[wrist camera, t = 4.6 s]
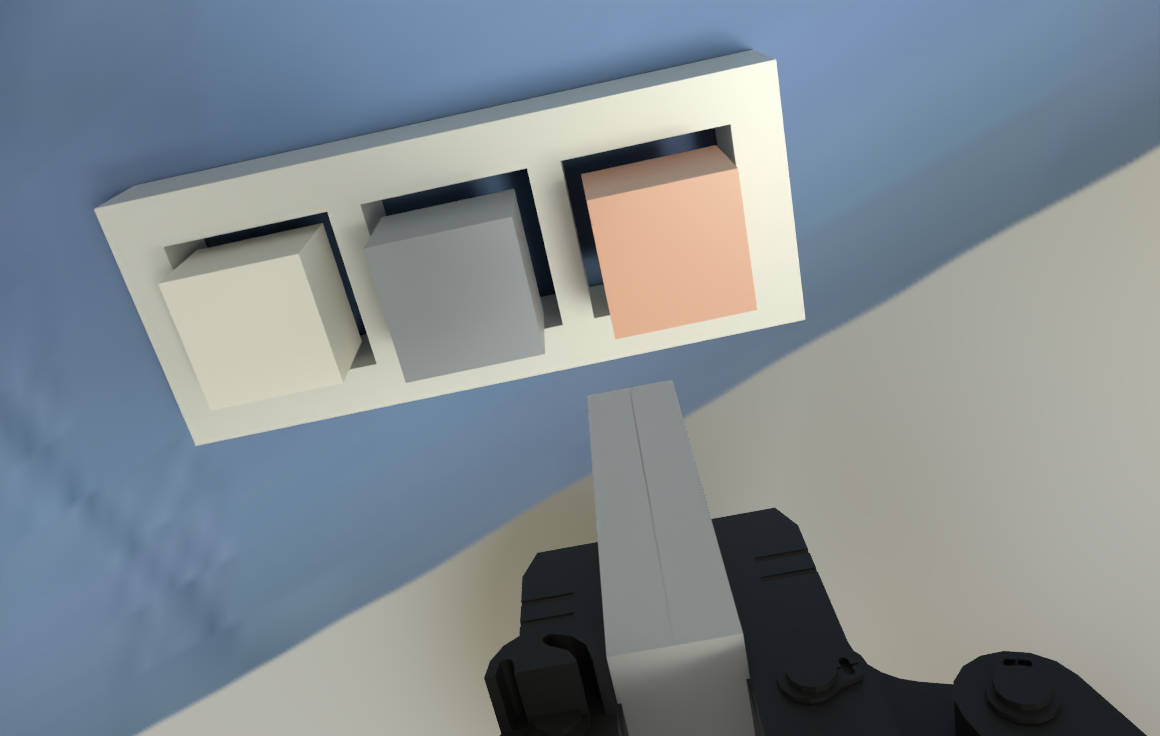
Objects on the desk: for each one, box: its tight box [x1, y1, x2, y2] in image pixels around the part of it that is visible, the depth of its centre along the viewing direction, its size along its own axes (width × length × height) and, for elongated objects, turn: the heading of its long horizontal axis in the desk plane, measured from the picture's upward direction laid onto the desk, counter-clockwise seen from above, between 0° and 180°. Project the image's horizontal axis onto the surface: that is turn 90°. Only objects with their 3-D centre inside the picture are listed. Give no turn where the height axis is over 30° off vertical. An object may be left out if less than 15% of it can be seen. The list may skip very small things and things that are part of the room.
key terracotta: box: [581, 145, 757, 339], centre depth 26 cm, size 4×4×3 cm
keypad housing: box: [94, 50, 805, 446], centre depth 29 cm, size 20×8×3 cm, turn 102°
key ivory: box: [158, 223, 362, 411], centre depth 28 cm, size 4×4×3 cm
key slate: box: [364, 189, 545, 383], centre depth 27 cm, size 4×4×3 cm
